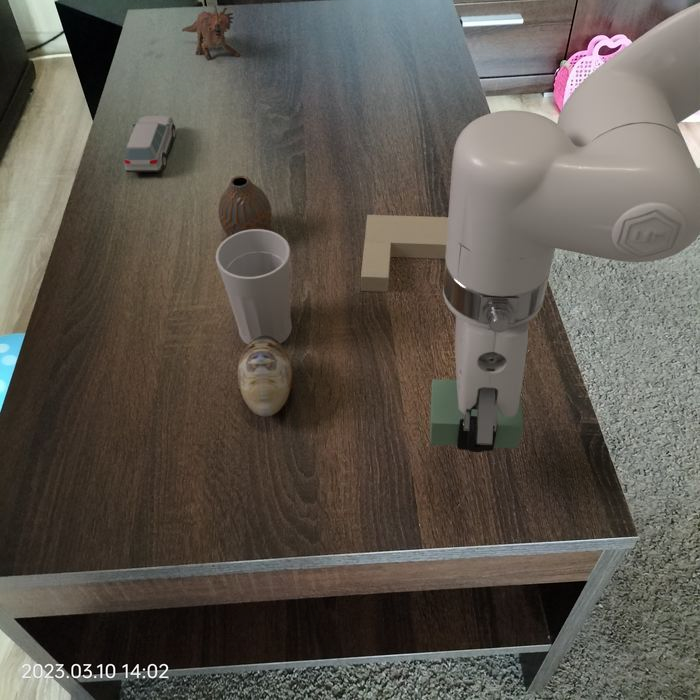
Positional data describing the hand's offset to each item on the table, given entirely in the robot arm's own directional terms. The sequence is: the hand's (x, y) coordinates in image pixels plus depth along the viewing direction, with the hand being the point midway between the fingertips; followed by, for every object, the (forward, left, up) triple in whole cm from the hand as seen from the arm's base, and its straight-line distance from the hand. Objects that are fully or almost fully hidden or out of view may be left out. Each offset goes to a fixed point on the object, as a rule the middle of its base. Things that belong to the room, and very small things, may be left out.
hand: (474, 420), depth 67 cm
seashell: (+21, -8, -9) cm, 24 cm away
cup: (+23, -18, -9) cm, 31 cm away
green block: (0, 0, -1) cm, 1 cm away
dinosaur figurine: (+43, -85, -9) cm, 96 cm away
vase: (+28, -35, -9) cm, 46 cm away
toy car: (+46, -53, -9) cm, 71 cm away
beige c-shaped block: (+4, -31, -9) cm, 32 cm away
